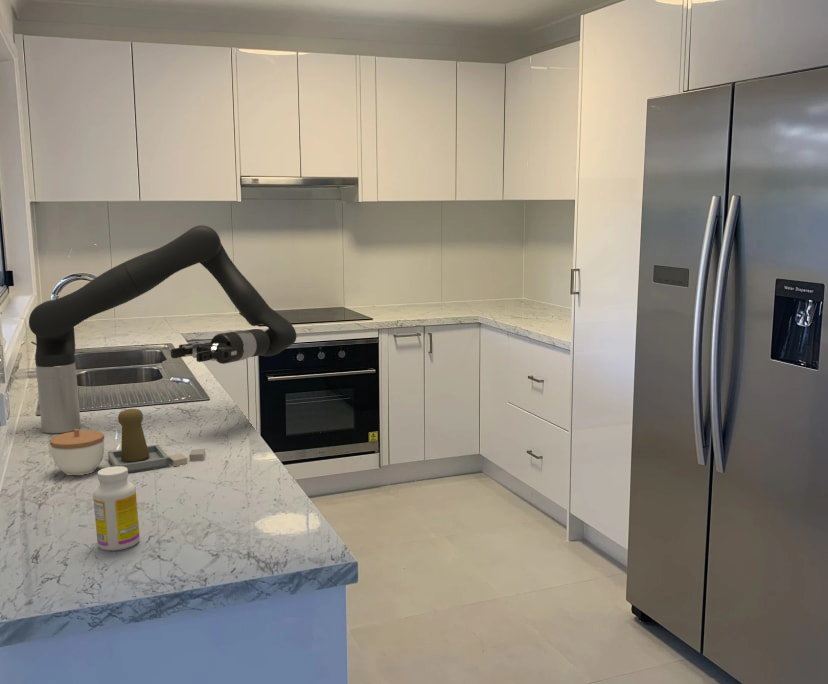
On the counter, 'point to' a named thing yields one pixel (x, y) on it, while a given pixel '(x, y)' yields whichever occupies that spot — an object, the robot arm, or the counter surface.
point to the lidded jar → (78, 451)
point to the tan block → (178, 460)
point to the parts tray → (154, 460)
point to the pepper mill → (132, 436)
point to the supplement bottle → (115, 510)
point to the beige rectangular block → (197, 455)
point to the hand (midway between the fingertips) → (184, 355)
